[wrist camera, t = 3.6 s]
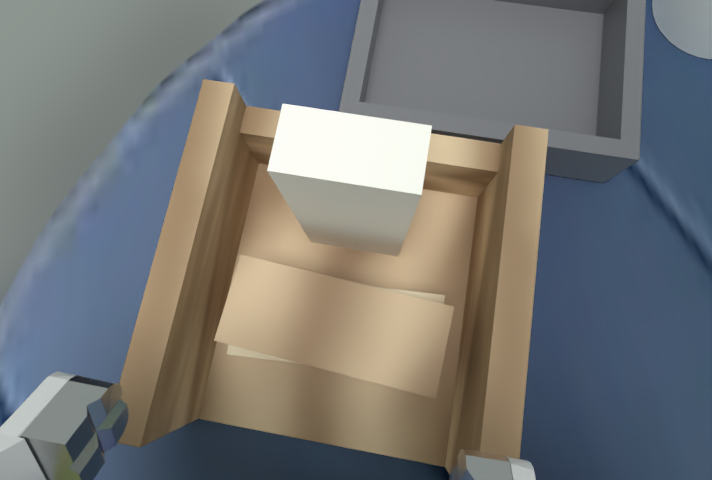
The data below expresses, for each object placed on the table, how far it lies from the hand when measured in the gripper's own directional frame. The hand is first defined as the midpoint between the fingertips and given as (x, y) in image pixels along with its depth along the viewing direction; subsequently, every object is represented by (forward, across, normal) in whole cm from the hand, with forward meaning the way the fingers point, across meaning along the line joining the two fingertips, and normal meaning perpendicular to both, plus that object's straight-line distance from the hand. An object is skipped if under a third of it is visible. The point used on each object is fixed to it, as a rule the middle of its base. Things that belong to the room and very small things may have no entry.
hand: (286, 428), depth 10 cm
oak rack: (+13, 0, +7) cm, 15 cm away
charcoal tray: (+24, -6, -4) cm, 25 cm away
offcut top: (+9, 0, +5) cm, 10 cm away
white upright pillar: (+15, 0, +4) cm, 16 cm away
